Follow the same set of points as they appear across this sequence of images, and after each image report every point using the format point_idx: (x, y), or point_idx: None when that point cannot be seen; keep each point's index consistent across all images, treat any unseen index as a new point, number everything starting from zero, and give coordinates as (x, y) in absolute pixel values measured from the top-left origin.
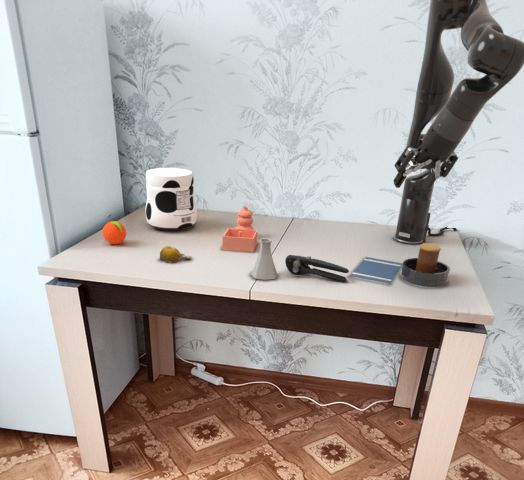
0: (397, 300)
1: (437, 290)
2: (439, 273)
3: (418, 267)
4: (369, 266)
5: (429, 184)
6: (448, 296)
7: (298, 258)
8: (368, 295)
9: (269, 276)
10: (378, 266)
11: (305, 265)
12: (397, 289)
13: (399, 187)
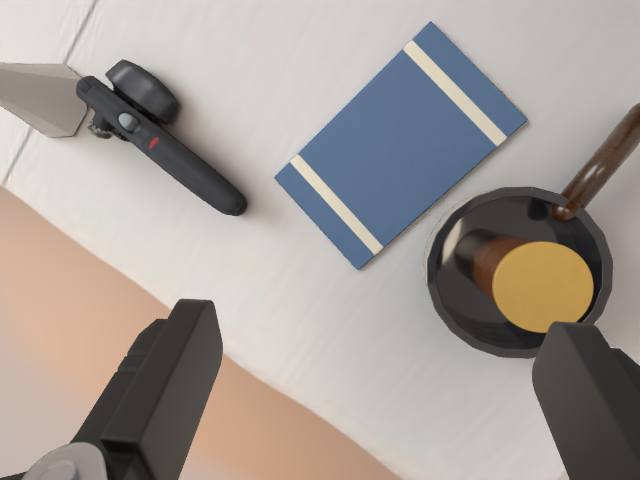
0: (314, 369)
1: (482, 355)
2: (507, 354)
3: (477, 273)
4: (383, 117)
5: (560, 455)
6: (482, 403)
7: (99, 114)
8: (257, 313)
9: (52, 133)
10: (415, 125)
11: (147, 110)
12: (362, 306)
13: (217, 365)
